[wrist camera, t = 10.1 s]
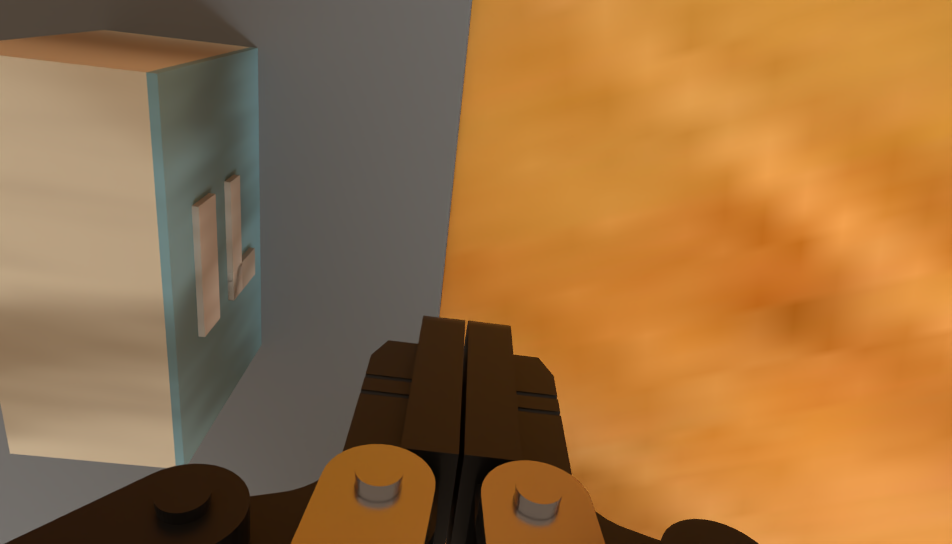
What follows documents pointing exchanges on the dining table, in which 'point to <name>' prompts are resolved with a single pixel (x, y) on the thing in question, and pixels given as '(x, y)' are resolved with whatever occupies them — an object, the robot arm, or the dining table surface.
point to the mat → (299, 220)
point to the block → (126, 242)
